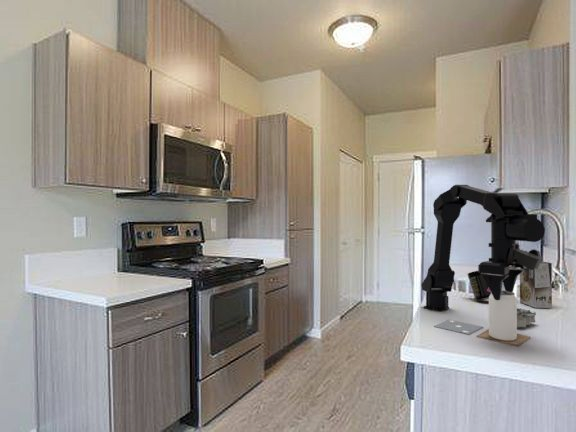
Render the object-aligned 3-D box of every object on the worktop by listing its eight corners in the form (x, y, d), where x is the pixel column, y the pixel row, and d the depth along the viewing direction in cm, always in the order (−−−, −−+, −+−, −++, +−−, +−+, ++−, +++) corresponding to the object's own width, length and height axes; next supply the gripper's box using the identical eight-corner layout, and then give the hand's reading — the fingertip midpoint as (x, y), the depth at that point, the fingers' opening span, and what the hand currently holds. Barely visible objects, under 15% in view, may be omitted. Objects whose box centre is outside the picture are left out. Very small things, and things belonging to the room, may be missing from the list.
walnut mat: (476, 338, 99) (476, 335, 99) (490, 330, 106) (490, 328, 106) (518, 347, 92) (518, 345, 92) (530, 338, 98) (530, 336, 98)
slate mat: (433, 327, 108) (433, 325, 108) (449, 321, 115) (449, 319, 115) (468, 336, 101) (468, 333, 101) (483, 328, 107) (483, 326, 107)
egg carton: (522, 329, 105) (521, 314, 105) (496, 324, 111) (494, 310, 111) (540, 321, 110) (538, 307, 111) (513, 317, 117) (512, 304, 117)
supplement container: (489, 296, 136) (480, 269, 140) (472, 300, 140) (464, 274, 144) (497, 297, 140) (489, 270, 144) (480, 301, 144) (472, 275, 148)
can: (509, 333, 101) (508, 290, 101) (521, 341, 94) (521, 295, 94) (484, 333, 101) (484, 289, 101) (495, 341, 95) (495, 294, 95)
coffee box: (552, 308, 131) (552, 262, 131) (534, 308, 131) (534, 262, 131) (536, 302, 140) (536, 259, 140) (519, 302, 140) (518, 259, 140)
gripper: (526, 242, 87) (527, 308, 87) (548, 239, 99) (548, 297, 99) (477, 240, 95) (477, 300, 95) (503, 237, 107) (503, 290, 107)
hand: (503, 297), depth 99 cm, fingers open, 9 cm apart
